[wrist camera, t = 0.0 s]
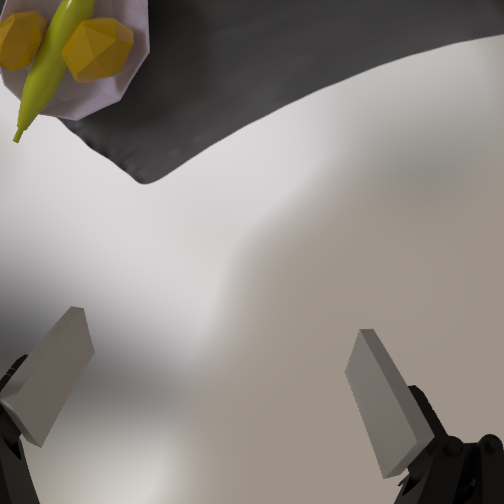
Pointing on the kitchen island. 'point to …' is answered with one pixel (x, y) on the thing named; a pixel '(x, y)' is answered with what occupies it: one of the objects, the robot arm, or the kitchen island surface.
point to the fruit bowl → (70, 54)
